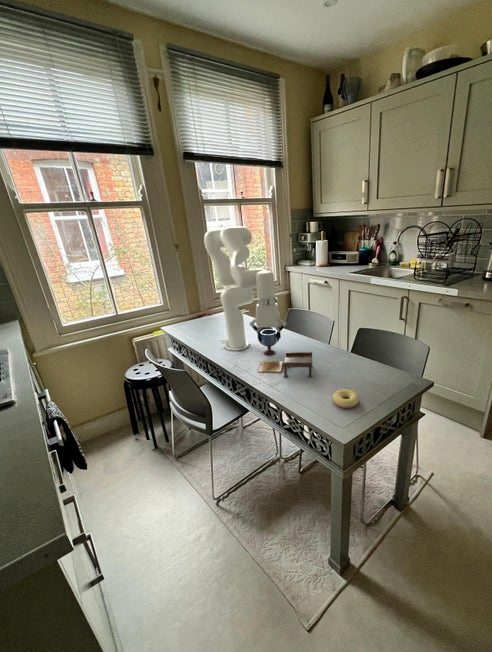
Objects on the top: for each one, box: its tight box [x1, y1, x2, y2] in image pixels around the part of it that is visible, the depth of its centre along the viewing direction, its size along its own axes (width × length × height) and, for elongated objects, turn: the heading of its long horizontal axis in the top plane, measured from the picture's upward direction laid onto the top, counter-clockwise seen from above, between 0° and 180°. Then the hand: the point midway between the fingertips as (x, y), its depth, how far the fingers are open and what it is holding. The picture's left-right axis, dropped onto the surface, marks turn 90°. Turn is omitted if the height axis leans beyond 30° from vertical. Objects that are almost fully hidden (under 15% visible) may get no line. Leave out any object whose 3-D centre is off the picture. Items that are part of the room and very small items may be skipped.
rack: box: [282, 351, 313, 379], centre depth 140 cm, size 12×11×7 cm
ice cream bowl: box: [257, 327, 279, 356], centre depth 158 cm, size 11×11×15 cm
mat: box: [258, 361, 284, 374], centre depth 147 cm, size 10×10×1 cm
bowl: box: [260, 328, 278, 346], centre depth 140 cm, size 7×7×5 cm
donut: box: [332, 388, 360, 409], centre depth 117 cm, size 10×5×9 cm
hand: (269, 339), depth 141 cm, fingers closed on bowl, 7 cm apart
